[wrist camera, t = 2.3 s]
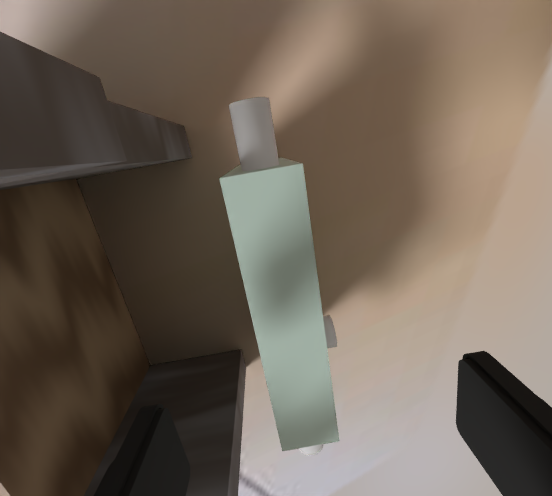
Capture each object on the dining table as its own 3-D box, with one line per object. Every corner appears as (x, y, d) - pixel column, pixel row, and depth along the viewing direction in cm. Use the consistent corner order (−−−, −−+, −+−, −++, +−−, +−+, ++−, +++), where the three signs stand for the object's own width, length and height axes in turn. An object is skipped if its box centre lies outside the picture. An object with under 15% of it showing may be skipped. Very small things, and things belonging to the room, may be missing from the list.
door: (230, 126, 19) (201, 100, 9) (293, 115, 19) (328, 77, 9) (278, 356, 25) (289, 482, 15) (324, 348, 25) (365, 469, 15)
